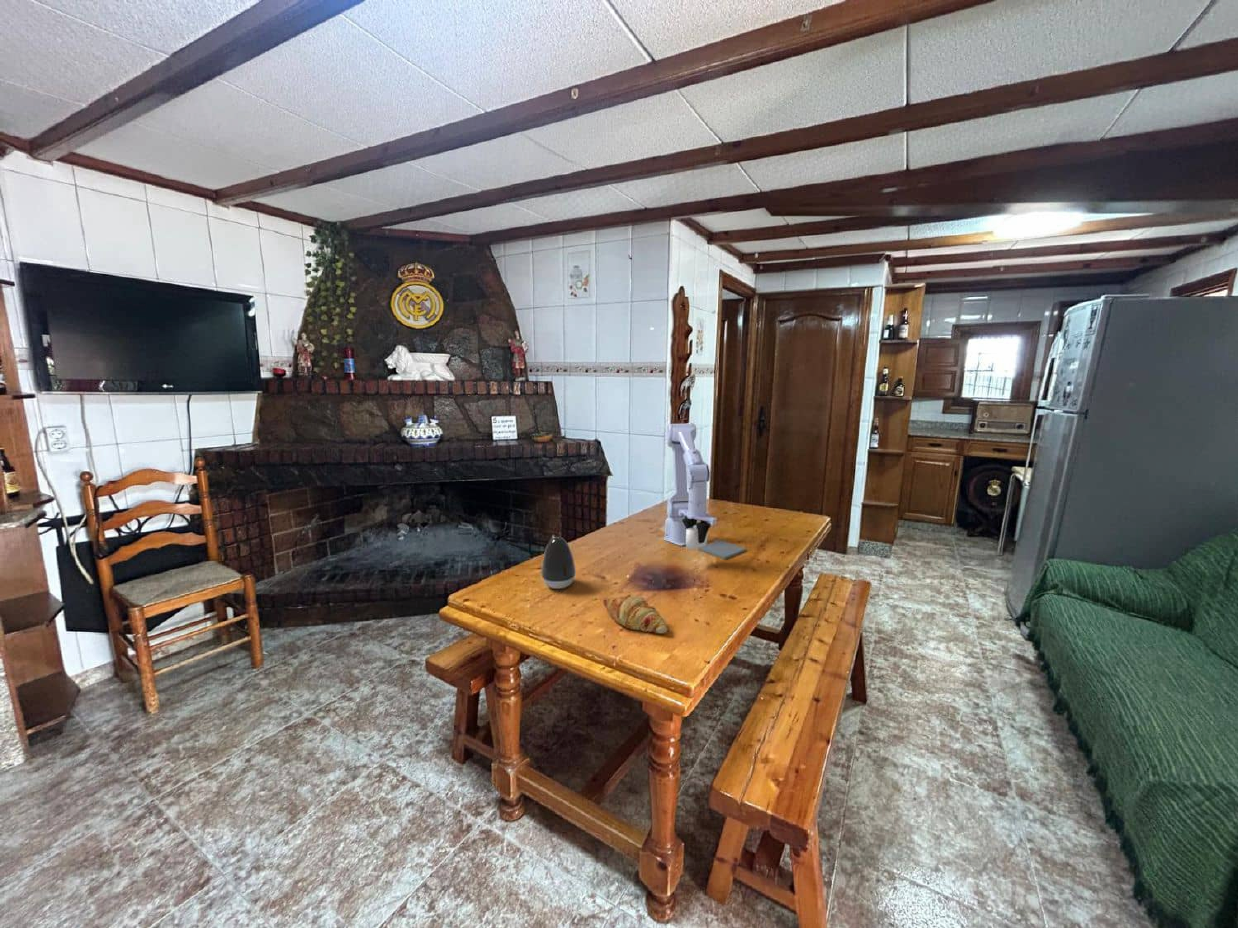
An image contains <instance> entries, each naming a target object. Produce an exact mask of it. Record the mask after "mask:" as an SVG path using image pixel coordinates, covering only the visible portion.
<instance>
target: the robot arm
mask: <svg viewBox="0 0 1238 928" xmlns="http://www.w3.org/2000/svg"><path fill="white" fill-rule="evenodd" d="M696 438H697V426H696V424H695V423H694V422H691V423H690V422H689V423H668V424H667V426H666V444H667V447H669V448H671V451H672V462H673V485H674V489H673V490H674V492H673V493H672V494H670V495H669V496H668V497H667V499H666V502H667V504H666V513H667V518H666V520H665V522H664V538H663V541H666V542H669V543H672V544H674V545H677V546H679V547H684V546H686V529H688V528H691V527H693V526H694V525H696V526H697V529H698V541H699V543H703V542H704V541H705V538H706V534H707V535H708V531H709V529H710V528H711V526H715V525H717V523H718V521H717V520H718V518H717V517H714V516H712V515H710V514H708V513H707V499H708V497H707V495H708V492H707V490H708V482H709V481H710V477H711V473H710V472H711V471H710V466H709V464H708V463H707V462H704V460H703V457H702V455H701V451H700V450H699V449H697V448H696V446H695V445H696V444H695V442H694V441H695V439H696ZM698 521H699V522H698Z"/></svg>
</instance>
